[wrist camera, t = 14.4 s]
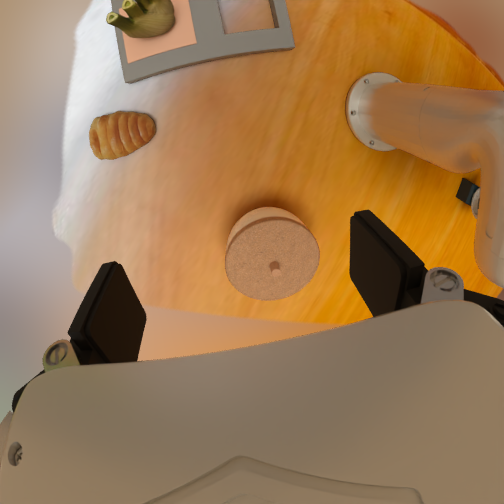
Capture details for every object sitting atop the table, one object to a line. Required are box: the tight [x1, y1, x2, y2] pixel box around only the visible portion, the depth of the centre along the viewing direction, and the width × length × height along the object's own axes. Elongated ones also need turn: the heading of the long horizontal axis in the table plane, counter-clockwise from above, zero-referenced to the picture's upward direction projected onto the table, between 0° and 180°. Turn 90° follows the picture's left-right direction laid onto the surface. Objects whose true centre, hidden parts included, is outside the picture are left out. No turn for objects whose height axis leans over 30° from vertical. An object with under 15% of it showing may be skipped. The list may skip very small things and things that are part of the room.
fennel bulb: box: [106, 0, 175, 38], centre depth 19 cm, size 6×5×12 cm
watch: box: [456, 178, 481, 219], centre depth 39 cm, size 6×8×11 cm
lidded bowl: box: [225, 207, 320, 300], centre depth 40 cm, size 13×13×11 cm
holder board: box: [111, 0, 295, 83], centre depth 26 cm, size 22×14×3 cm, turn 100°
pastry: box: [89, 111, 156, 160], centre depth 33 cm, size 9×7×4 cm
